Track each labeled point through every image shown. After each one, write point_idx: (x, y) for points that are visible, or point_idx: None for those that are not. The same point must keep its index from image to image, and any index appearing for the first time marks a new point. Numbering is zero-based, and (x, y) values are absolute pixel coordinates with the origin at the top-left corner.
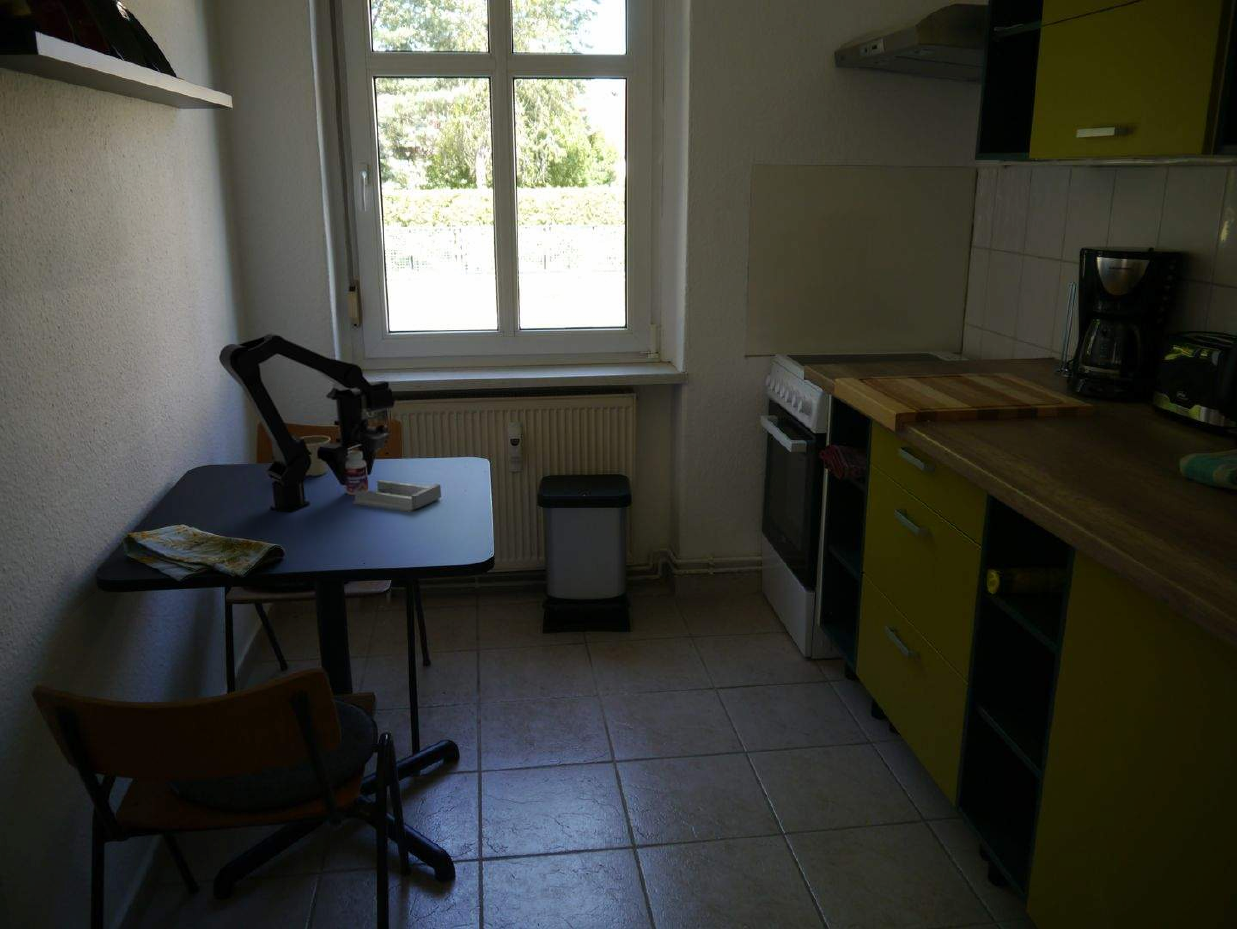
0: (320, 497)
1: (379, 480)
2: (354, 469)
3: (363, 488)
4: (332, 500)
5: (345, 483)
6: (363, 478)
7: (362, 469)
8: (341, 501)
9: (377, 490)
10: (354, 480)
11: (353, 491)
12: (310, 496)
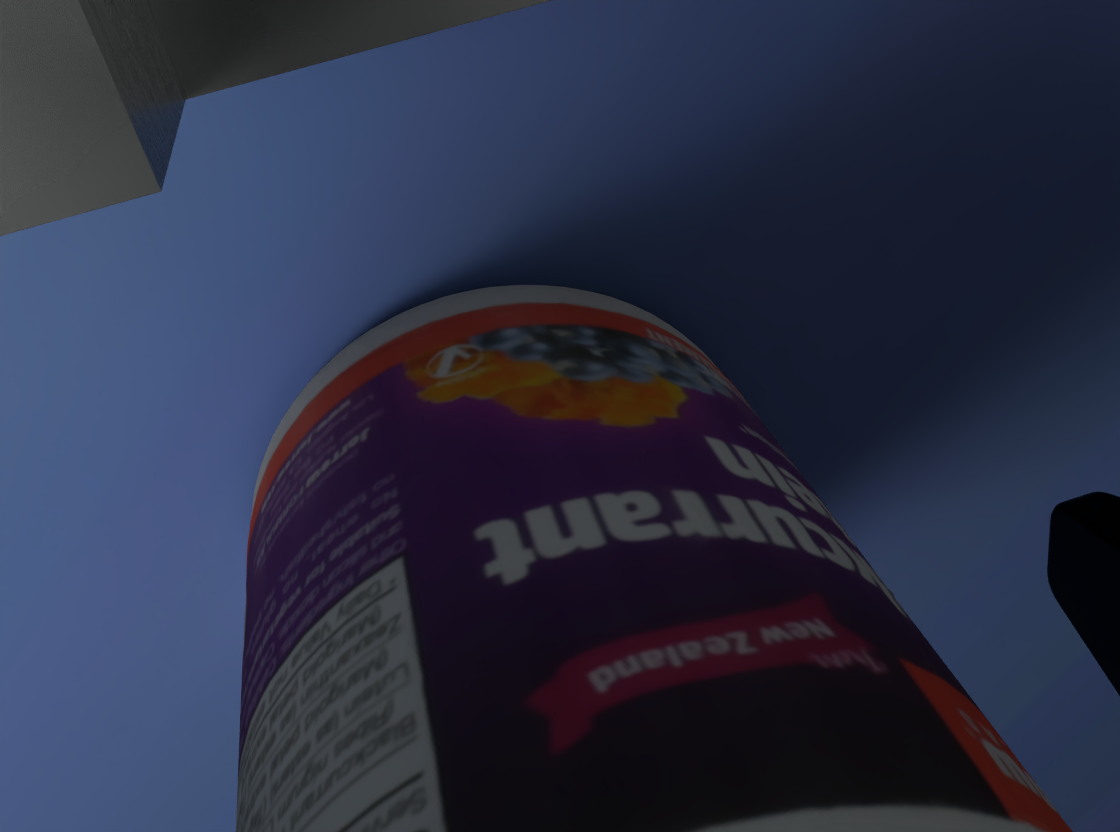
0: (1041, 649)
1: (29, 210)
2: (1044, 815)
3: (543, 331)
4: (1114, 386)
5: (1085, 516)
6: (577, 496)
7: (705, 744)
8: (1116, 201)
9: (210, 87)
10: (840, 534)
11: (742, 396)
12: (1050, 766)
